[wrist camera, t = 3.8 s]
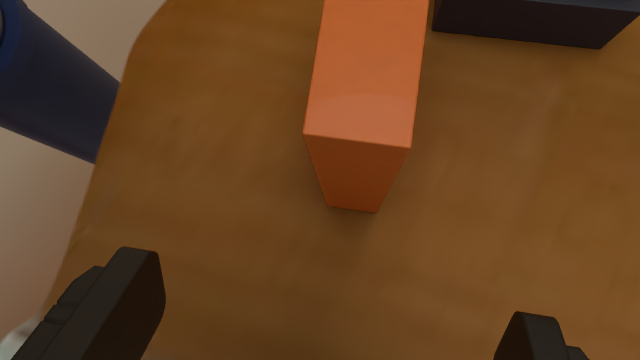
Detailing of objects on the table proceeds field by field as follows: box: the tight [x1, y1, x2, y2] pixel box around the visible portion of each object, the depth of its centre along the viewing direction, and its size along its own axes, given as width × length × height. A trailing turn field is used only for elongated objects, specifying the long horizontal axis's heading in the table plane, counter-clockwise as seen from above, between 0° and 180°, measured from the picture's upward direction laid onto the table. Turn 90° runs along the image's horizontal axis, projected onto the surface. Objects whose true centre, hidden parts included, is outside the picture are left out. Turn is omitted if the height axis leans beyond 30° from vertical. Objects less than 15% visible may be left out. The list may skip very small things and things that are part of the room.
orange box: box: [302, 0, 429, 213], centre depth 25 cm, size 4×14×18 cm, turn 171°
